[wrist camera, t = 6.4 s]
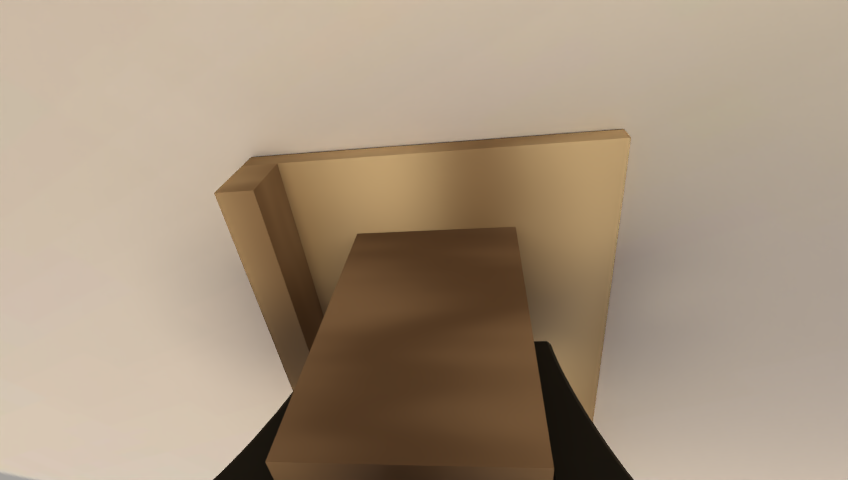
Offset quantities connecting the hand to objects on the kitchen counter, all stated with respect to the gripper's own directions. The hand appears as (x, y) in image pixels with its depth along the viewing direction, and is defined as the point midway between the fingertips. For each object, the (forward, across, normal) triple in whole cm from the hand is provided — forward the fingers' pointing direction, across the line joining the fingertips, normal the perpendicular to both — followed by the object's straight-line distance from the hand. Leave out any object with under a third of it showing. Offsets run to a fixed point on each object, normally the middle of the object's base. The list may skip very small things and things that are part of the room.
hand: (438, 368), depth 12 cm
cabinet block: (+2, 0, 0) cm, 3 cm away
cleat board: (+3, 0, +4) cm, 5 cm away
